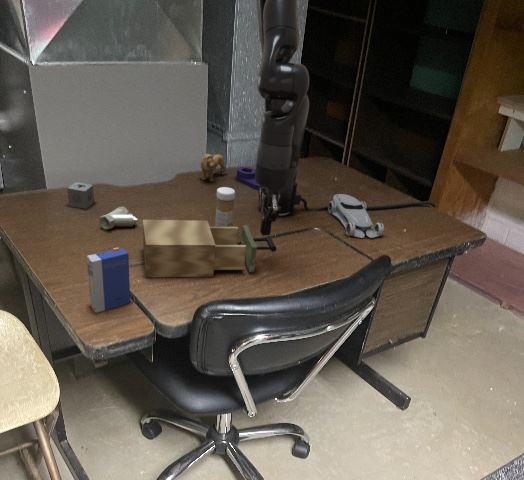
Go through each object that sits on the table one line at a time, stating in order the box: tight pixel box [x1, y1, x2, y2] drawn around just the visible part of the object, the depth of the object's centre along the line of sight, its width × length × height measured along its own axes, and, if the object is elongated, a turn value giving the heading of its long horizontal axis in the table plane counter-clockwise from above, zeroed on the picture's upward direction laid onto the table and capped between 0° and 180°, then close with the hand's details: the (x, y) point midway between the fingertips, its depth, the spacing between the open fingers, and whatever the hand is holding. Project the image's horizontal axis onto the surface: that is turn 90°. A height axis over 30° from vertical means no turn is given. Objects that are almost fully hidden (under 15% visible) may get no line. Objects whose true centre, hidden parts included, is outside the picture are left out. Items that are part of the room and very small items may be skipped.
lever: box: [236, 166, 262, 190], centre depth 182 cm, size 12×6×3 cm, turn 36°
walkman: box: [86, 247, 131, 313], centre depth 113 cm, size 8×3×12 cm, turn 130°
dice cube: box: [66, 181, 95, 210], centre depth 153 cm, size 5×5×5 cm
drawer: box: [209, 224, 278, 273], centre depth 135 cm, size 20×12×6 cm, turn 102°
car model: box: [327, 193, 385, 239], centre depth 165 cm, size 11×24×5 cm, turn 13°
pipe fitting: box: [99, 205, 138, 230], centre depth 145 cm, size 8×4×7 cm
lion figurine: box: [200, 153, 226, 182], centre depth 180 cm, size 15×5×9 cm, turn 162°
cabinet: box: [142, 219, 215, 278], centre depth 132 cm, size 15×13×8 cm
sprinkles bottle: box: [214, 186, 236, 227], centre depth 143 cm, size 5×5×14 cm
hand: (265, 233), depth 134 cm, fingers closed
